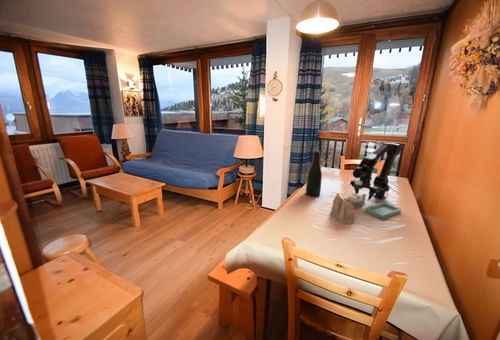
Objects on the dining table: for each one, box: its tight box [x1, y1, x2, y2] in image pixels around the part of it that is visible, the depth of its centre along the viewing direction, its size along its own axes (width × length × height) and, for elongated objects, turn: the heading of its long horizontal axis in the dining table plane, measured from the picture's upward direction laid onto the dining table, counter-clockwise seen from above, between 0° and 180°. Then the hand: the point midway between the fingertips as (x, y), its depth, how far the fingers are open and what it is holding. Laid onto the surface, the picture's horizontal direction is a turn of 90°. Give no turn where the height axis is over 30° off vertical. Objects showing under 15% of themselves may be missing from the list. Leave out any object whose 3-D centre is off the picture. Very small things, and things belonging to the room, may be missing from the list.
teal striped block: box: [348, 192, 367, 203], centre depth 149 cm, size 12×5×6 cm, turn 119°
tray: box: [364, 201, 402, 220], centre depth 137 cm, size 19×11×2 cm, turn 119°
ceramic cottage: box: [329, 192, 356, 226], centre depth 129 cm, size 16×16×15 cm
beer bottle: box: [305, 149, 323, 198], centre depth 158 cm, size 10×10×33 cm
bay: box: [345, 196, 364, 209], centre depth 147 cm, size 7×9×3 cm
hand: (362, 197), depth 151 cm, fingers open, 9 cm apart
